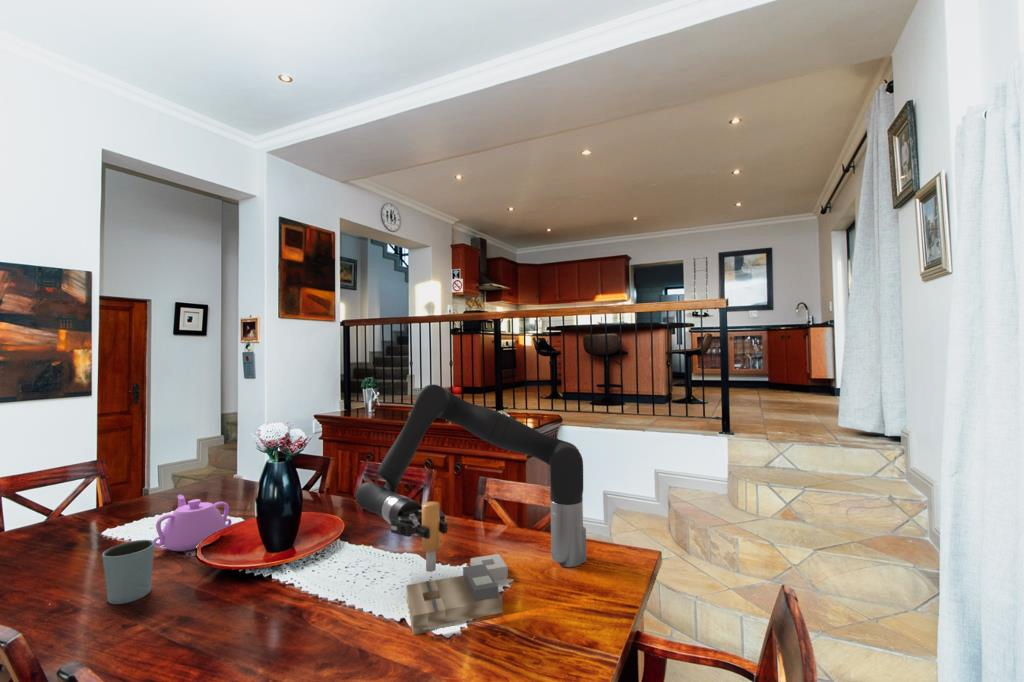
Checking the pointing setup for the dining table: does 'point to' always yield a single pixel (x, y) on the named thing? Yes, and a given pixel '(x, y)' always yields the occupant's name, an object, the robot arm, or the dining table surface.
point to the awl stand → (492, 565)
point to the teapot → (190, 524)
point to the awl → (431, 533)
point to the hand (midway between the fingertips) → (437, 531)
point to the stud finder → (480, 582)
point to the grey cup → (128, 571)
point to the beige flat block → (446, 604)
